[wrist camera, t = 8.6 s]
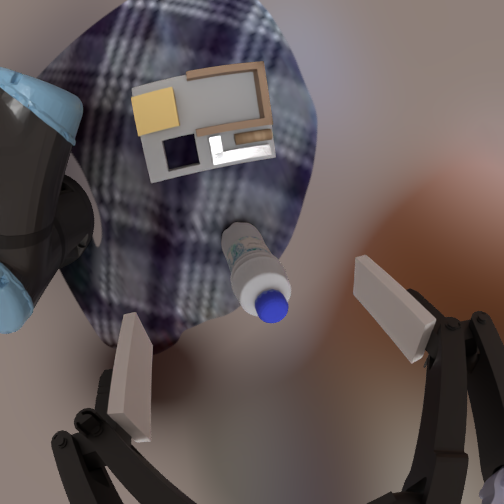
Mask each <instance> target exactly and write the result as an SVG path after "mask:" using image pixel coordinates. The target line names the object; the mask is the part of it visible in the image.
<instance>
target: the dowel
mask: <svg viewBox="0 0 504 504" xmlns="http://www.w3.org/2000/svg"><path fill="white" fill-rule="evenodd" d="M272 138H273V134H272V130H271V129H263V130H256V131H249V132H243V133H237V134H234V140H235V144H236V145H240V144H246V143H252V142H259V141H265V140H272Z"/></svg>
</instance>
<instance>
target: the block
mask: <svg viewBox="0 0 504 504" xmlns="http://www.w3.org/2000/svg"><path fill="white" fill-rule="evenodd" d="M131 101H132V106H133V112H134V117H135V122H136V127H137V132H138V136H141V135H145V134H149V133H152V132H156V131H160V130H164V129H168V128H172V127H176V126H180V122H179V116H178V111H177V105H176V100H175V94H174V90H173V87H168V88H164V89H160V90H156V91H152V92H148V93H145V94H141V95H138V96H134V97H131Z"/></svg>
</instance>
